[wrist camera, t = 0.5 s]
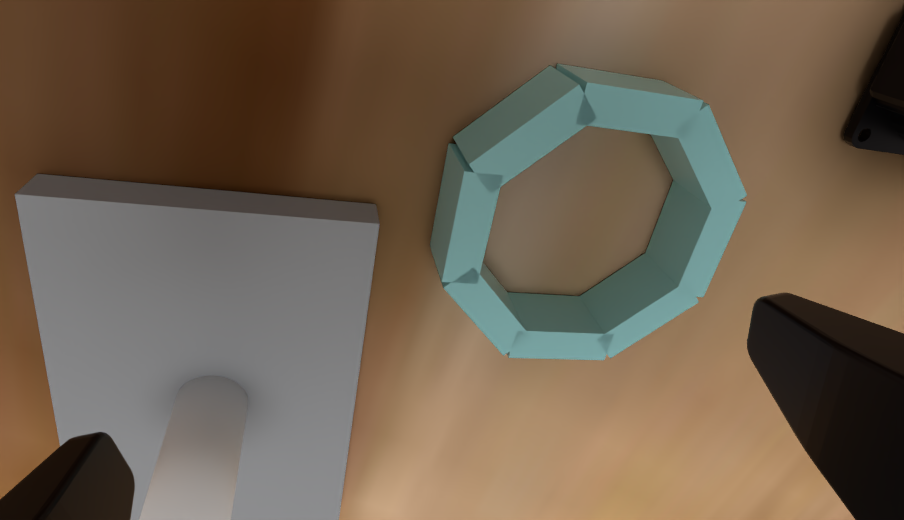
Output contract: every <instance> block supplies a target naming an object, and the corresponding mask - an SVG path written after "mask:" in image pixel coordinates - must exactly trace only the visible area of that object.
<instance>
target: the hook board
mask: <svg viewBox="0 0 904 520" xmlns="http://www.w3.org/2000/svg"><path fill="white" fill-rule="evenodd" d="M15 198H16V204H17V209H18V215H19V220H20V226H21V231H22V237H23V243H24V248H25V254H26V259H27V265H28V270H29V276H30V281H31V287H32V292H33V298H34V304H35V309H36V315H37V320H38V326H39V331H40V337H41V342H42V348H43V354H44V359H45V365H46V370H47V376H48V381H49V387H50V392H51V398H52V403H53V409H54V415H55V420H56V426H57V431H58V437H59V442H60V446H61V445H62V444H64V443H65V442H66V441H67V440H69V439H71V438H73V437H76V436H80V435H85V434H90V433H95V432H105V433H107V434H108V435H110V436H111V438H112V439H113V441H114V442H115V444H116V446H117V447H118V449H119V451H120V452H121V454H122V455H123V457H124V459H125V460H126V462H127V464H128V465H129V467H130V468H131V470H132V473H133V476H134V481H135V492H134V499H133V505H132V512H131V519H130V520H339V514H340V507H341V500H342V493H343V485H344V478H345V471H346V464H347V456H348V449H349V442H350V435H351V427H352V420H353V413H354V406H355V398H356V391H357V384H358V377H359V369H360V362H361V355H362V348H363V340H364V333H365V326H366V319H367V311H368V304H369V297H370V290H371V282H372V275H373V268H374V261H375V253H376V246H377V239H378V232H379V218H378V213H377V207H376V204H368V203H357V202H346V201H335V200H324V199H313V198H301V197H290V196H279V195H268V194H257V193H246V192H235V191H224V190H213V189H201V188H190V187H179V186H168V185H157V184H146V183H135V182H124V181H113V180H101V179H90V178H79V177H68V176H57V175H46V174H36V175H35V176H34V177H33V178H32V179H31V180H30V181H29V182H28V183H27V184H25V185H24V186H23V187H22V188H21V189H20V190H19V191H18V192H17V193H15Z"/></svg>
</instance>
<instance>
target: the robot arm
mask: <svg viewBox="0 0 904 520" xmlns="http://www.w3.org/2000/svg"><path fill="white" fill-rule="evenodd" d="M861 131H862V133H861V134H860V135H859V133H860V132H861ZM858 135H859V136H858ZM844 141H845V143H847V144H849V145H852V146H854V147H856V148H860V149H867V150H874V151H881V152H888V153H895V154H902V155H904V15H903V17H902V19H901V21H900V23H899V25H898V27H897V29H896V31H895V33H894V35H893V37H892V39H891V41H890V43H889V45H888V47H887V49H886V51H885V53H884V55H883V57H882V59H881V61H880V63H879V65H878V67H877V69H876V71H875V72H874V74H873V76H872V78H871V80H870V82H869V84H868V86H867V88H866V90H865V92H864V94H863V96H862V98H861V100H860V102H859V104H858V106H857V108H856V110H855V112H854V114H853V116H852V118H851V120H850V122H849V124H848V126H847V128H846V130H845V132H844ZM747 349H748V353H749V356H750V358H751V360H752V362H753V364H754V365H755V367H756V369H757V370H758V372H759V374H760V376H761V377H762V379H763V381H764V382H765V384H766V386H767V387H768V389H769V391H770V393H771V394H772V396H773V398H774V399H775V401H776V403H777V404H778V406H779V408H780V410H781V411H782V413H783V415H784V416H785V418H786V420H787V421H788V423H789V425H790V427H791V428H792V430H793V432H794V433H795V435H796V437H797V438H798V440H799V441H800V443H801V445H802V446H803V448H804V449H805V451H806V452H807V454H808V455H809V456H810V458H811V459H812V461H813V462H814V464H815V465H816V466H817V468H818V469H819V471H820V472H821V473H822V475H823V476H824V477H825V479H826V480H827V481H828V483H829V484H830V486H831V487H832V488H833V490H834V491H835V492H836V494H837V495H838V496H839V498H840V499H841V501H842V502H843V503H844V505H845V506H846V507H847V509H848V510H849V511H850V513H851V514H852V515H853V517H854V518H855V520H904V334H903V333H900V332H898V331H895V330H892V329H889V328H886V327H884V326H881V325H878V324H875V323H872V322H869V321H867V320H864V319H861V318H858V317H855V316H853V315H850V314H847V313H844V312H841V311H838V310H836V309H833V308H830V307H827V306H824V305H822V304H819V303H816V302H813V301H810V300H807V299H805V298H802V297H799V296H796V295H793V294H790V293H779V294H774V295H769V296H764V297H761V298H759V299H757V301H756V302H755V304H754V306H753V311H752V317H751V323H750V328H749V334H748V339H747ZM134 492H135V481H134V476H133V473H132V470H131V468H130V467H129V465H128V464H127V462H126V460H125V459H124V457H123V455H122V454H121V452H120V451H119V449H118V447H117V446H116V444H115V442H114V441H113V439H112V438H111V436H110V435H108V434H107V433H105V432H95V433H90V434H85V435H80V436H76V437H73V438H71V439H69V440H67V441H66V442H65V443H64V444H62V445H61V446H60V447H59V448H58V449H57V450H56V451H55V452H53V453H52V454H51V455H50V456H49V457H48V458H47V459H46V460H44V461H43V462H42V463H41V464H40V465H39V466H38V467H36V468H35V469H34V470H33V471H32V472H31V473H30V474H29V475H27V476H26V477H25V478H24V479H23V480H22V481H21V482H19V483H18V484H17V485H16V486H15V487H14V488H13V489H12V490H10V491H9V492H8V493H7V494H6V495H5V496H4V497H2V498H1V499H0V520H130V519H131V512H132V505H133V499H134Z"/></svg>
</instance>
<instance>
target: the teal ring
mask: <svg viewBox="0 0 904 520" xmlns="http://www.w3.org/2000/svg"><path fill="white" fill-rule="evenodd" d="M586 126H594V127H601V128H609V129H616V130H623V131H631V132H638V133H645V134H651V136H652V138H653V140H654V142H655V144H656V146H657V148H658V150H659V152H660V154H661V156H662V158H663V160H664V162H665V164H666V166H667V168H668V170H669V172H670V174H671V176H672V178H673V182H672V185H671V187H670V190H669V193H668V195H667V198H666V200H665V203H664V206H663V208H662V211H661V214H660V216H659V219H658V221H657V224H656V227H655V229H654V232H653V234H652V237H651V240H650V242H649V245H648V247H647V250H646V253H644V254H643V255H641V256H640V257H638V258H637V259H635V260H634V261H632V262H631V263H629V264H628V265H626V266H625V267H623V268H622V269H620V270H619V271H617V272H616V273H614V274H613V275H611V276H609V277H608V278H606V279H605V280H603V281H602V282H600V283H599V284H597V285H596V286H594V287H593V288H591V289H590V290H588V291H587V292H585V293H584V294H582V295H581V296H565V295H547V294H529V293H511V292H507V291H506V290H505V289H504V288H503V287H502V285H501V284H500V283H499V282H498V280H497V279H496V278H495V277H494V275H493V274H492V273H491V272H490V270H489V269H488V268H487V267H486V265H485V264H484V263H483V259H484V254H485V250H486V246H487V242H488V238H489V233H490V229H491V225H492V221H493V216H494V212H495V208H496V204H497V200H498V195H499V191H500V187H501V186H503V185H504V184H505V183H507V182H508V181H510V180H511V179H512V178H514V177H515V176H517V175H518V174H519V173H521V172H522V171H524V170H525V169H526V168H528V167H529V166H531V165H532V164H534V163H535V162H536V161H538V160H539V159H541V158H542V157H543V156H545V155H546V154H548V153H549V152H550V151H552V150H553V149H555V148H556V147H557V146H559V145H560V144H562V143H563V142H565V141H566V140H567V139H569V138H570V137H572V136H573V135H574V134H576V133H577V132H579V131H580V130H581V129H583V128H584V127H586ZM453 139H454V140H455V142H456V144H451V143H449V144H448V150H447V155H446V160H445V166H444V171H443V177H442V182H441V187H440V193H439V198H438V204H437V209H436V214H435V220H434V225H433V230H432V236H431V241H430V247H431V251H432V255H433V258H434V261H435V264H436V267H437V270H438V273H439V276H440V279H441V282H442V285H443V288H444V289H445V290H446V291H447V293H448V294H449V295H450V296H451V297H452V298H453V299H454V300H455V302H456V303H457V304H458V305H459V306H460V307H461V308H462V309H463V311H464V312H465V313H466V314H467V315H468V316H469V317H470V319H471V320H472V321H473V322H474V323H475V324H476V325H477V326H478V328H479V329H480V330H481V331H482V332H483V333H484V334H485V335H486V337H487V338H488V339H489V340H490V341H491V342H492V343H493V344H494V346H495V347H496V348H497V349H498V350H499V351H500V352H501V354H502V355H505V354H506V353H507V355H508V358H538V359H577V360H604V359H605V357H606V354H607V355H608V356H609V357H610V358H612V357H613V356H615V355H616V354H618V353H620V352H621V351H623V350H624V349H626V348H627V347H629V346H631V345H632V344H634V343H635V342H637V341H638V340H640V339H642V338H643V337H645V336H646V335H648V334H649V333H651V332H653V331H654V330H656V329H657V328H659V327H660V326H662V325H664V324H665V323H667V322H668V321H670V320H672V319H673V318H675V317H676V316H678V315H679V314H681V313H683V312H684V311H686V310H687V309H689V308H690V307H692V306H694V305H695V304H697V303H698V300H697V298H696V297H704V295H705V292H706V290H707V288H708V286H709V284H710V281H711V279H712V277H713V275H714V272H715V270H716V268H717V266H718V264H719V261H720V259H721V257H722V255H723V253H724V250H725V248H726V246H727V244H728V242H729V239H730V237H731V235H732V233H733V231H734V228H735V226H736V224H737V222H738V220H739V217H740V215H741V213H742V211H743V209H744V206H745V204H746V201H745V200H743V199H742V198H744V197H746V196H747V194H746V192H745V190H744V187H743V185H742V182H741V180H740V178H739V175H738V173H737V170H736V168H735V166H734V163H733V161H732V159H731V156H730V154H729V151H728V149H727V147H726V144H725V142H724V140H723V137H722V135H721V132H720V130H719V128H718V125H717V123H716V121H715V118H714V116H713V113H712V111H711V109H710V106H709V104H707V103H705V102H703V100H701V99H699V98H697V97H695V96H693V95H691V94H689V93H687V92H685V91H683V90H681V89H679V88H677V87H675V86H673V85H670V84H668V83H666V82H664V81H662V80H656V79H650V78H644V77H637V76H631V75H625V74H619V73H613V72H607V71H601V70H595V69H588V68H582V67H576V66H570V65H564V64H558V63H557V66H556V69H555V68H553V67H552V66H548V67H547V68H546V69H544V70H543V71H542V72H540V73H539V74H538V75H536V76H535V77H533V78H532V79H531V80H529V81H528V82H527V83H525V84H524V85H523V86H521V87H520V88H519V89H517V90H516V91H514V92H513V93H512V94H510V95H509V96H508V97H506V98H505V99H504V100H502V101H501V102H500V103H498V104H497V105H495V106H494V107H493V108H491V109H490V110H489V111H487V112H486V113H485V114H483V115H482V116H481V117H479V118H478V119H476V120H475V121H474V122H472V123H471V124H470V125H468V126H467V127H466V128H464V129H463V130H462V131H460V132H459V133H457V134H456V135H455V136H453Z"/></svg>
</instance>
